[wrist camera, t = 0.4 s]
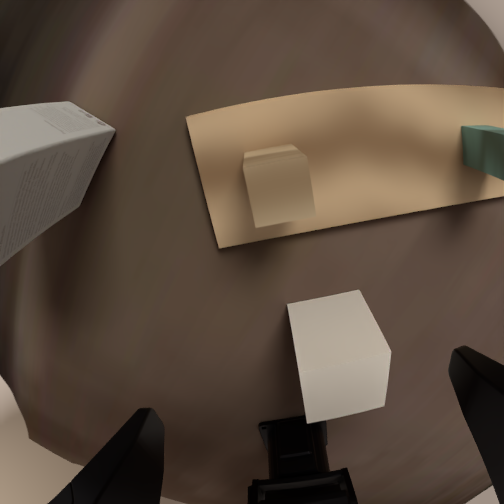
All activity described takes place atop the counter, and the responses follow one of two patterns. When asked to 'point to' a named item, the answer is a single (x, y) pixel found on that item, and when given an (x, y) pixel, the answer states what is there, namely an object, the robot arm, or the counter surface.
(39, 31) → the counter surface
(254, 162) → the stand
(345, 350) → the white rectangular block
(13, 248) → the skincare box
